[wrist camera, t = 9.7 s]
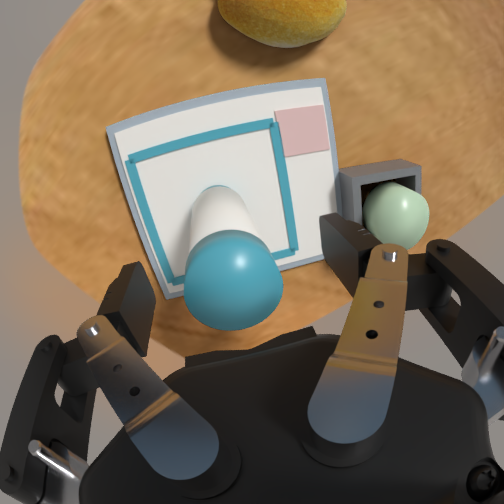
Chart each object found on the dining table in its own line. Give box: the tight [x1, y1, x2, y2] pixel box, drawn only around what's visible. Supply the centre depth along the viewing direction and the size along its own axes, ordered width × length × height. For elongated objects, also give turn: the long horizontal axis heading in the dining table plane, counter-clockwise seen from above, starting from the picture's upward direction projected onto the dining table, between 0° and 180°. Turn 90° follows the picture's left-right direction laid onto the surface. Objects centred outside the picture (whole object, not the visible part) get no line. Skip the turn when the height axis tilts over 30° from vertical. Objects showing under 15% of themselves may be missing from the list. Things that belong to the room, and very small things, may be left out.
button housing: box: [339, 159, 421, 234], centre depth 19 cm, size 6×6×2 cm
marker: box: [184, 185, 283, 330], centre depth 14 cm, size 3×3×10 cm
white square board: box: [106, 78, 343, 300], centre depth 18 cm, size 14×13×1 cm
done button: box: [362, 182, 429, 250], centre depth 18 cm, size 4×4×2 cm
